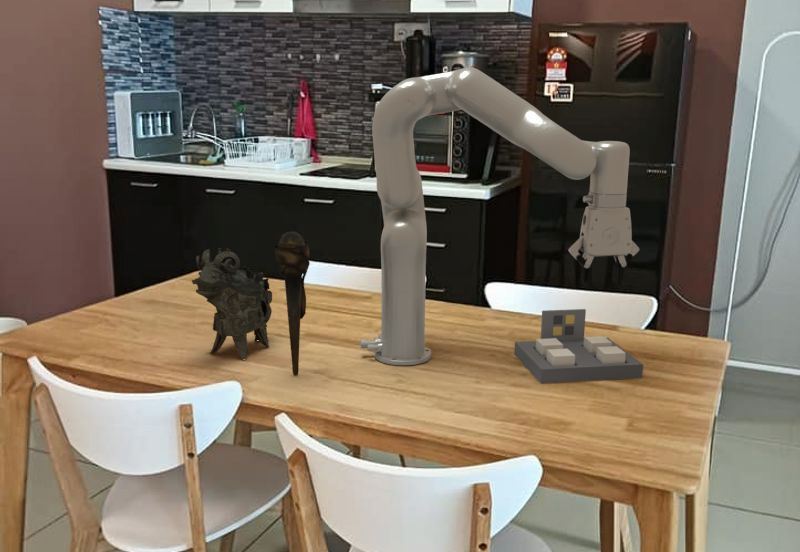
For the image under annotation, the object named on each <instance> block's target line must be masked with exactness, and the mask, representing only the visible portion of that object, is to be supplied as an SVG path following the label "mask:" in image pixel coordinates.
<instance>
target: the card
mask: <svg viewBox="0 0 800 552" xmlns="http://www.w3.org/2000/svg"><path fill="white" fill-rule="evenodd" d="M586 313H587V310H586V309H585V308H577V309H572V308H571V309H550V310H549V309H548V310H546V309H545V310H542V311H541V324H540V325H541V326H540V339H551V338H556V339H557V340H558V341H562V340H584V337H585V327H586V326H585V325H586Z"/></svg>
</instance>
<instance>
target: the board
mask: <svg viewBox="0 0 800 552" xmlns="http://www.w3.org/2000/svg"><path fill="white" fill-rule="evenodd" d="M605 338H606V339H608V340H609V341H610V342H612V346H617V347H618V348H620V349H621V350H622V351H624V352H625V353H626V355H625V363H616V364H603V363H601V362H600V361H599V360H598V359H597V358H596V353H589V352H588V351H587V350H586V349H585V348H583V345H584V340H562V341H559V342H561V343H562V344H563V349H568V350H570V351H571V352H572V353H573V354H574V355H575V366H556V367H553V366H552V365H551V364H550V363H549V362H548V361H547V360H546V357H547V355H540V354H539V353H538V352H537V351H536V340H524V341H514V348H513V349H514V353H513V354H514V356H515V357H516V358H517V360H519V362H520V363H521V364H522V365H523V366H524V367H525V368H526V369H527V370H528V371H529V372H530V373H531V375H533V376H534V377H535V379H536V380H537V381H538V382H539V383H540V384H554V383H571V382H572V383H573V382H574V383H575V382H590V381H591V382H592V381H607V380H608V381H612V380H627V379H628V380H630V379H643V375H644V374H643V373H644V364H643V363H642V362H641V361H639V360H638V359H637V358H636V357H634V355H632V354H631V353H629V352H628V351H627V350H625V349H624V348H622V347H621V346H619V344H617V343H615V341H613V340H612V339H610V338H609V337H605Z"/></svg>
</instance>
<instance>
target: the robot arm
mask: <svg viewBox="0 0 800 552" xmlns="http://www.w3.org/2000/svg"><path fill="white" fill-rule="evenodd" d="M461 110H462V111H464V112H465V113H467V115H469V116H471V117H472V118H473V119H476V120H477V121H479V122H480V123H482V124H483V125H484V126H487V127H488V128H489V129H491V131H493V132H495V133H497V134H498V135H500V136H501V137H503V138H504V139H506V140H508V141H509V142H510V143H512V144H514V145H515V146H517V147H520V148H522V149H524V150H525V151H526V152H529V153H530V154H532V155H533V156H535V157H537V158H538V159H539V160H541V161H543V162H544V163H546V164H547V165H548V166H550V167H551V168H553V169H554V170H556V171H557V172H559V173H561V174H562V175H563V176H565V177H567V178H568V179H571V180H575V181H576V180H577V181H578V180H584V179H585V178H588V177H590V183H589V191H588V195H587V194H586V195H583V197H582V202H583V203H587V205H588V206H586V207H585V209H584V212H583V216H582V221H581V226H580V233H579V238H578V239H577V240H576V241H575V242H574V243H573V244H572V245H570V247H569V248H568V252H569V254H570V255H571V256H572V257H573V258H574V259H575V260H576V262H578V263H579V265H580V266H581V273H580V274H581V275H580V280H581V282H582V284H583V285H584V286H585V287H591V286H592V277H593V269H592V268H591V265H592V262H593V260H594V258H595V257H613V258H614V261H615V264H613V266H612V278H611V279H612V280H611V282H612V283H613V284H615V285H617V286H621V285H622V282H623V280H624V269H625V267H627V264H628V263H629V262H630V261H631V260H632V259H633V257H635V255H637V253H638V252H639V251H640V247H639V246H638V245H637V243H635V242H634V241H633V240H632V237H633V235H632V233H633V232H632V218H631V210H630V208H629V207H627V193H628V192H627V191H628V181H629V180H628V178H629V167H630V166H629V165H630V154H631V153H630V151H631V150H630V146H629V144H628V143H626V142H625V141H624V142H623V141H618V140H603V141H602V140H600V141H590V140H589V141H588V140H582V139H580V138H579V137H577V136H576V135H575V134H572V133H571V132H569V131H568V130H566V129H565V128H563V127H562V126H560V125H559V124H557V123H556V122H555V121H553V120H551V119H550V118H549V117H548V116H546V115H545V114H543V113H542V112H541V111H540V110H539V109H538V108H537V107H535V106H534V105H532V104H531V103H529V101H526V100H525V99H524V98H522V97H520V96H519V95H517V94H516V93H515V92H513V91H511V90H510V89H508V88H507V87H506V86H504V85H502V84H501V83H500V82H498V81H497V80H495V79H494V78H492V77H491V76H489V75H487V74H486V73H484V72H483V71H481V70H479V69H478V68H475V67H468V66H467V67H464V68H463V67H462V68H459V69H456V70H451V71H446V72H442V73H441V72H439V73H435V74H430V75H429V74H428V75H423V76H418V77H417V76H416V77H410V78H409V77H408V78H406V79H403V80H402V81H400V82H399V83H397V84H396V85H394V86H393V87H392V88H391V89H389V90H388V91H387V92H386V93H385V94H384V96H383V97H382V98H381V99H380V100H379V102H378V104H377V107H376V108H375V111H374V114H373V117H372V125H371V126H372V131H371V132H372V143H373V156H374V158H373V159H374V167H375V175H376V192H377V195H378V198H379V200H380V202H381V203H380V204H381V211H382V218H383V229H382V233H381V237H380V258H381V259H380V261H381V262H380V264H381V280H380V281H381V285H380V286H381V287H380V288H381V327H380V328H381V333H379V334H377V335H378V337H374V339H360V341H359V347H360V349H366V351H368V352H369V351H370V352H371V351H373V353H374V359H375V360H377V361H379V362H380V363H383V364H387V365H391V366H414V365H421V364H422V363H426V362H428V361H429V360H431V358H432V350H431V349H430V348H428V347H427V346H425V333H426V331H425V330H426V329H425V326H426V275H427V274H426V273H427V272H426V270H427V268H426V264H427V242H428V241H427V239H428V238H427V237H428V236H427V235H428V231H427V229H428V228H427V220H426V219H427V217H426V210H425V209H426V208H425V201H424V199H425V198H424V191H423V182H422V181H423V180H422V176H421V173H420V171H419V169H418V168H417V162H416V155H415V154H416V152H415V142H414V128H415V125H416V123H417V122H418V121H419V120H422V119H423V118H425V117H428V116H433V115H434V116H435V115H439V114H440V115H441V114H446V113H451V112H456V111H461ZM579 251H581V252H583V253H582V255H581V254H580V253H579Z"/></svg>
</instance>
